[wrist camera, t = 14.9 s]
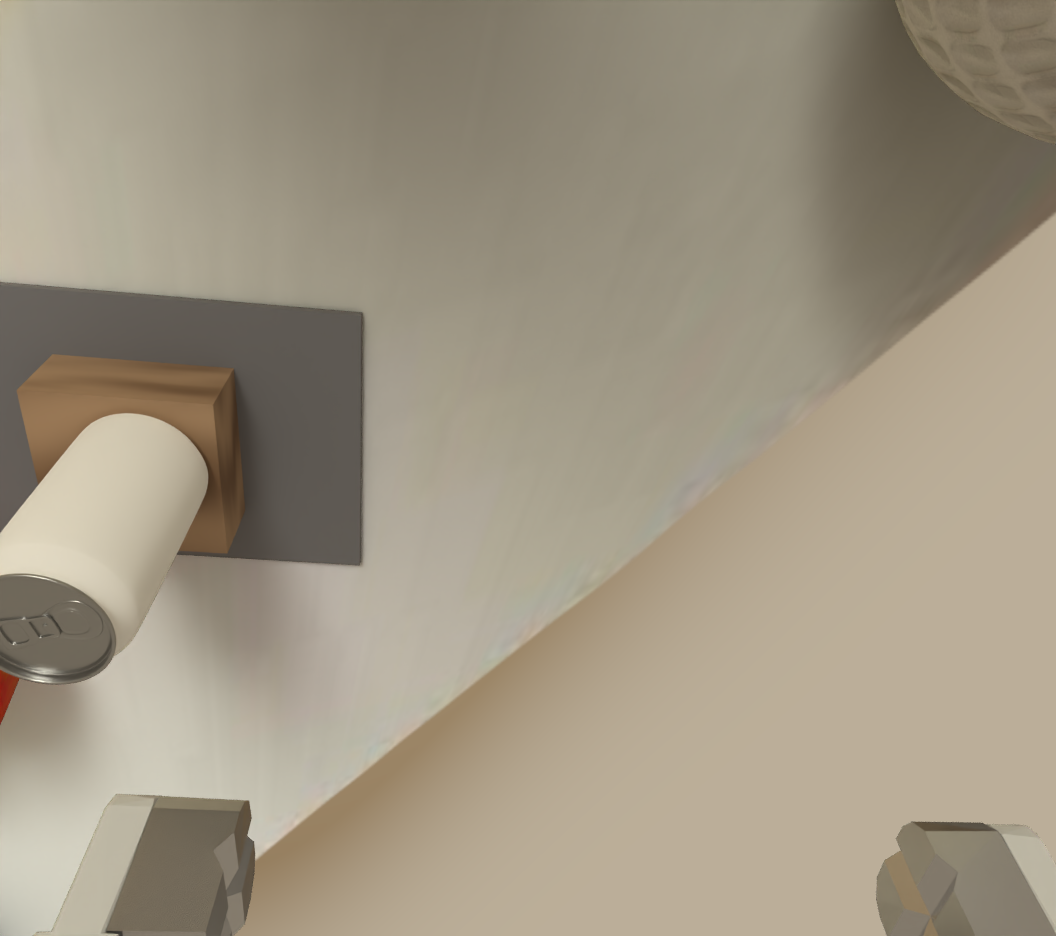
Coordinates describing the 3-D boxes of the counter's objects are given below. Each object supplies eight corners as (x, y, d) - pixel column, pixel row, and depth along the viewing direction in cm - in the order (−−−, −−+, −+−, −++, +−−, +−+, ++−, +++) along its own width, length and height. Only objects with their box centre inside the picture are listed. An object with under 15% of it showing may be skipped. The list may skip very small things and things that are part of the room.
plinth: (52, 354, 44) (16, 390, 41) (233, 368, 45) (212, 404, 42) (81, 499, 49) (51, 543, 46) (245, 510, 50) (227, 553, 46)
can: (231, 504, 45) (155, 676, 35) (113, 529, 45) (4, 705, 35) (177, 396, 41) (76, 551, 31) (51, 423, 42) (-90, 584, 32)
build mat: (-97, 273, 42) (-102, 276, 42) (361, 312, 44) (360, 315, 44) (-22, 538, 51) (-26, 542, 50) (360, 561, 53) (359, 565, 52)
